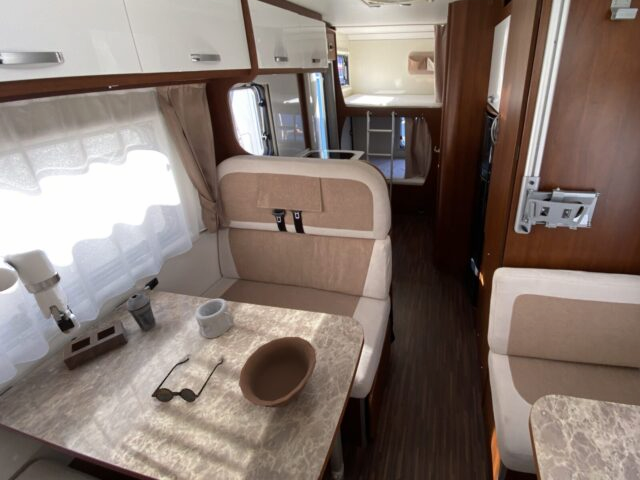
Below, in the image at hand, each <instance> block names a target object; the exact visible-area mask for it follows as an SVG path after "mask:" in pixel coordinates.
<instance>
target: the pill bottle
mask: <svg viewBox="0 0 640 480" xmlns="http://www.w3.org/2000/svg"><path fill="white" fill-rule="evenodd" d="M61 312H62V311H61ZM66 314H67V316H68V318H69V317H70V318H71V320H72V322H73V323H74V325H75V327H74V328H71V329H69V330H67V331H64V332H62V334H63V335H64V336H69V335H72V334H74V333H76V332H77V331H78V330H80V329H81V326H82V325H81V323H80V322H79V320H78V319H77V317H76V315H75V314H74V313H73V314H71V312H70V311H69V309H68V310H67V311H66ZM60 316H64V315H63V314H61V315H60Z"/></svg>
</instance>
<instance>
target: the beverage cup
mask: <svg viewBox="0 0 640 480" xmlns="http://www.w3.org/2000/svg"><path fill="white" fill-rule="evenodd" d="M132 285H133V289H134V294H133V295H131V296H130V297H129V298H128V300H127V301H126V311H127V312H128V313H129V314H130V315H131V316H132V318H133V319H134V321H135V323H136V324H137V325H138V327H139V329H141V331H142V332H149V331H151V330H153V329H154V328H155V327H156V326H157V322H156V320H155V315H154V312H153V308H152V306H151V298H150V297H149V296H148V295H147V294H144V293H138V291H137V288H136V284H135V283H134V284H132Z"/></svg>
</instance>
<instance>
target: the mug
mask: <svg viewBox="0 0 640 480" xmlns="http://www.w3.org/2000/svg"><path fill="white" fill-rule="evenodd" d="M194 316H195V319H196V322H197V325H198V327H199V330H200V333H201V335H202V336H203V338H207V339H213V338H218V337H220V336H222V335H223V334H225V333H226V332H227V331H229V330H230V328H231V327H234V326H235V323H234V320H233V316H232V314H231V313H230V310H229V306H228V301H226V299H224V298H212V299H209V300H207V301H205V302H203V303H202V304H201V305H199V306H198V307H197V309H196V310H195V313H194Z"/></svg>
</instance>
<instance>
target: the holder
mask: <svg viewBox="0 0 640 480" xmlns="http://www.w3.org/2000/svg"><path fill="white" fill-rule="evenodd" d="M127 338H128V337H127V332H126V328H125V327H124V324H123V323H122V320H121V319H118V320H117V321H115V322H112V323H110V324H108V325H105V326H104V327H101V328H99V329H96V330H95V331H92V332H90V333H88V334H85V335H83V336H80V337H79V338H76V339H74V340H72V341H69V342H67V343H65V344H63V355H62V361H63V363H64V364H65V366H66V367H67V369H68V370H69V371H72V370H74V369H76V368H78V367H80V366H83V365H85V364H86V363H89V362H91V361H93V360H95V359H97V358H99V357H101V356H104V355H105V354H107V353H109V352H112V351H113V350H116V349H118V348H119V347H122V346H124V345H126V344H128V339H127ZM77 366H78V367H77ZM75 367H76V368H75ZM73 368H74V369H73ZM71 369H72V370H71Z"/></svg>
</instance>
